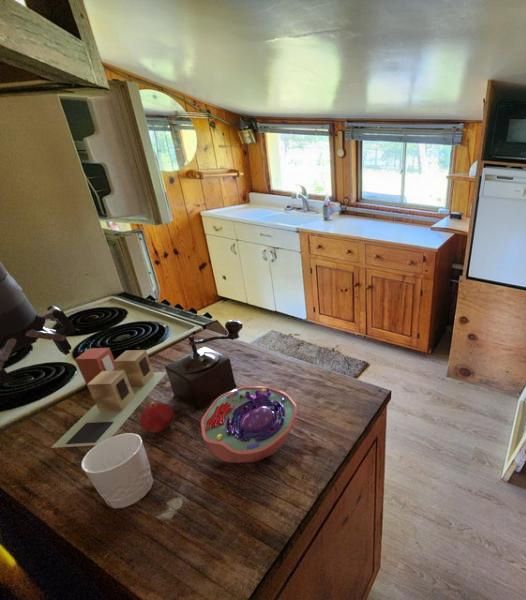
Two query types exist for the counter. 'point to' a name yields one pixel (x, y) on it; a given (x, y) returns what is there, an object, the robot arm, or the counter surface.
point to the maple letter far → (135, 367)
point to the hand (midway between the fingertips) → (38, 366)
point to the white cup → (119, 470)
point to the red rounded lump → (156, 417)
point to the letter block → (95, 362)
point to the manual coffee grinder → (203, 372)
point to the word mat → (105, 419)
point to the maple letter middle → (111, 391)
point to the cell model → (248, 423)
